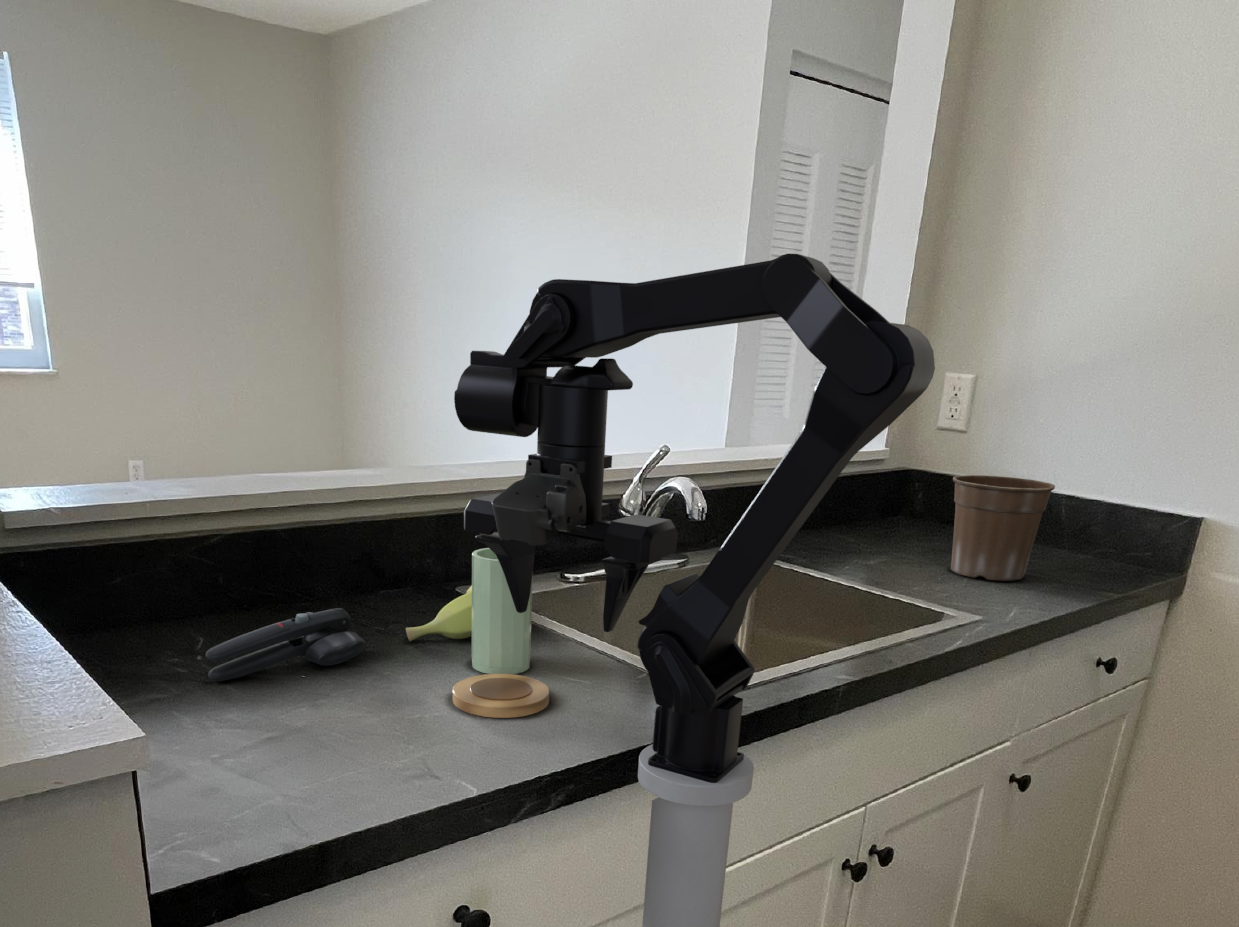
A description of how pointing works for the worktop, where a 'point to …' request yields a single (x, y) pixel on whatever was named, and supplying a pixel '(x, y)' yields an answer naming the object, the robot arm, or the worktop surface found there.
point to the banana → (449, 620)
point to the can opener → (289, 644)
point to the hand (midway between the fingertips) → (564, 621)
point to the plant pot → (996, 525)
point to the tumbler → (497, 620)
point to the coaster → (500, 695)
